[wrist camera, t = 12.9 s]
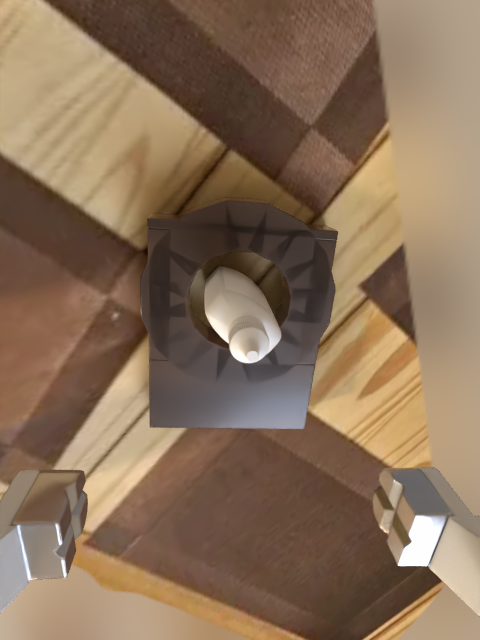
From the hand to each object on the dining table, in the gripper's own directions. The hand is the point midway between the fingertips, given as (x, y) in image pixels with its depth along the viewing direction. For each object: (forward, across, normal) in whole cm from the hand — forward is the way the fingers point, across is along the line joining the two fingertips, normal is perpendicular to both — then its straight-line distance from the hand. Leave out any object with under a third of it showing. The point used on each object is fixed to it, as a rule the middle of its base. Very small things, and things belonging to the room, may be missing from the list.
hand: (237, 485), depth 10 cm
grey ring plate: (+23, -2, +5) cm, 23 cm away
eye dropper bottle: (+23, -2, +2) cm, 23 cm away
